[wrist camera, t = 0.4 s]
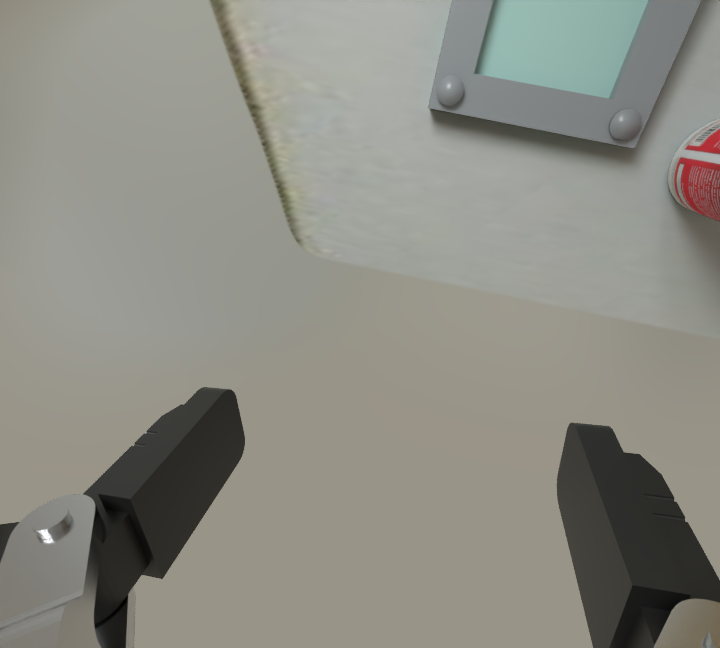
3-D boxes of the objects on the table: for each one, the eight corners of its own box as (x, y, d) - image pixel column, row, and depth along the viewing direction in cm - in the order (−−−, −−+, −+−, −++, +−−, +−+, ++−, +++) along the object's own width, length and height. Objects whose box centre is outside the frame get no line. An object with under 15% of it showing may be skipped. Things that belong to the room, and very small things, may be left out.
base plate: (489, -160, 24) (492, -182, 22) (747, -129, 23) (772, -150, 21) (429, 108, 31) (427, 107, 29) (626, 147, 29) (636, 149, 27)
